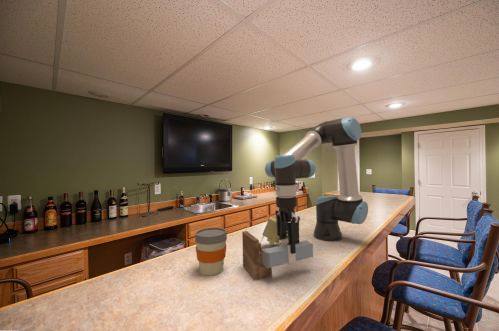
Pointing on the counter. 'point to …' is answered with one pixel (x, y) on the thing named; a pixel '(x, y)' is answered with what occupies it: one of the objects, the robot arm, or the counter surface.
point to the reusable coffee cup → (211, 250)
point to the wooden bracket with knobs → (254, 257)
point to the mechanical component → (272, 232)
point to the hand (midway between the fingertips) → (288, 258)
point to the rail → (285, 254)
